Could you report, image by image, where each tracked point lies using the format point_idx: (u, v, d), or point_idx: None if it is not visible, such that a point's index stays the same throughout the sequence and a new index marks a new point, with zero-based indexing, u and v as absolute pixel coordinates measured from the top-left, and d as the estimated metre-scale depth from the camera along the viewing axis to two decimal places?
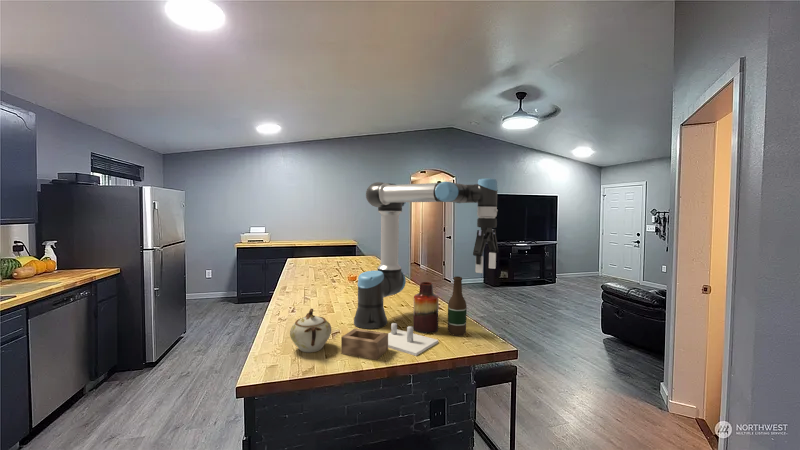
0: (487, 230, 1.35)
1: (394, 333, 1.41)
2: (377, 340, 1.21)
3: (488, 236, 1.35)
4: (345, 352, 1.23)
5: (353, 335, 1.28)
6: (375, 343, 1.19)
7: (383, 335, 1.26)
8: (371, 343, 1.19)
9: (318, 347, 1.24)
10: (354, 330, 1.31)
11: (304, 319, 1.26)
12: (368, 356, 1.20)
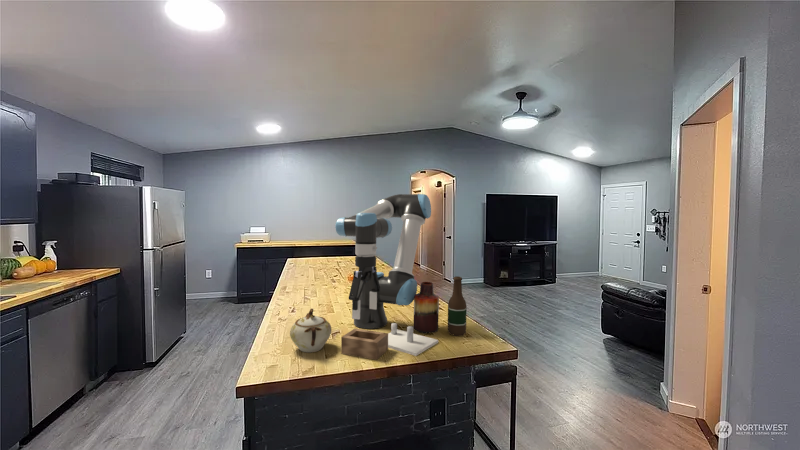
0: (365, 270, 1.23)
1: (394, 333, 1.41)
2: (377, 340, 1.21)
3: (366, 277, 1.22)
4: (345, 352, 1.23)
5: (353, 335, 1.28)
6: (375, 343, 1.19)
7: (383, 335, 1.26)
8: (371, 343, 1.19)
9: (318, 347, 1.24)
10: (354, 330, 1.31)
11: (304, 319, 1.26)
12: (368, 356, 1.20)
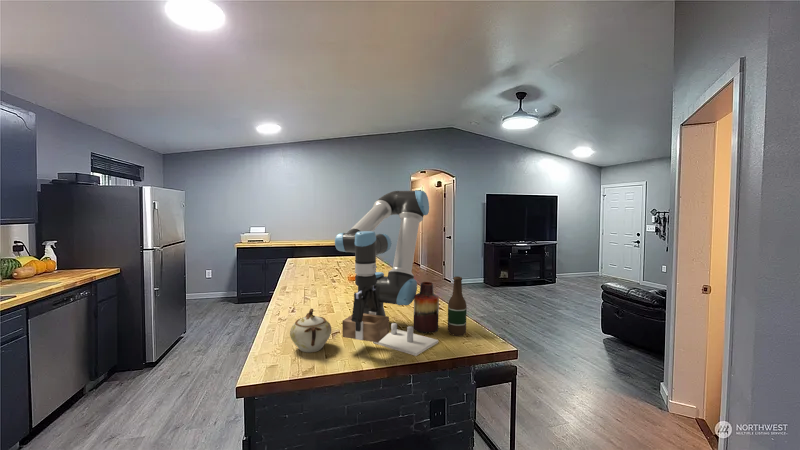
0: (365, 288, 1.23)
1: (394, 333, 1.41)
2: (378, 323, 1.21)
3: (367, 296, 1.23)
4: (346, 335, 1.24)
5: None
6: (376, 326, 1.19)
7: (384, 318, 1.26)
8: (372, 326, 1.20)
9: (318, 347, 1.24)
10: None
11: (304, 319, 1.26)
12: (370, 339, 1.20)
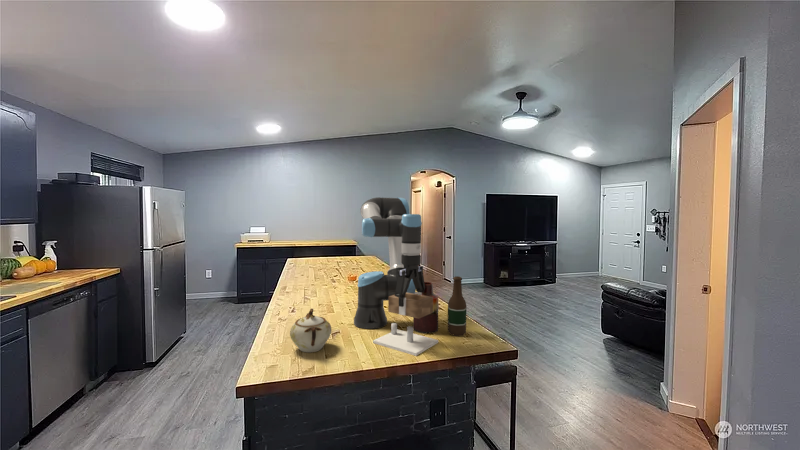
0: (410, 267, 1.30)
1: (394, 333, 1.41)
2: (420, 300, 1.27)
3: (411, 274, 1.30)
4: (391, 310, 1.32)
5: None
6: (417, 302, 1.25)
7: (427, 298, 1.31)
8: (414, 302, 1.26)
9: (318, 347, 1.24)
10: None
11: (304, 319, 1.26)
12: (411, 315, 1.27)
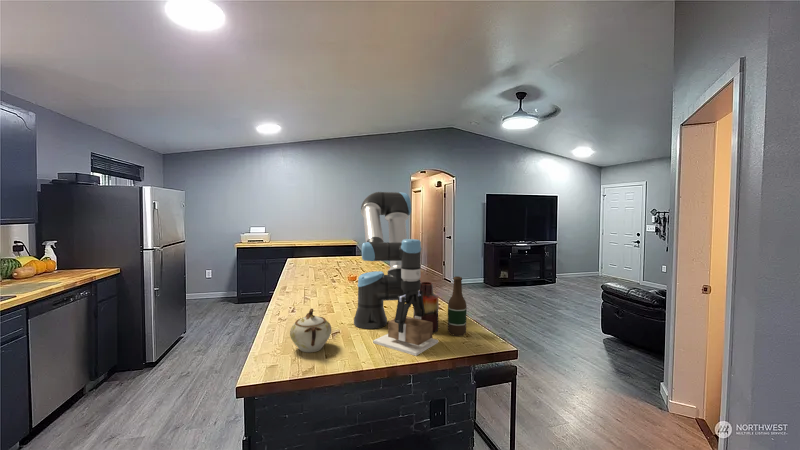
0: (409, 293, 1.30)
1: None
2: (420, 327, 1.27)
3: (411, 300, 1.30)
4: (391, 336, 1.32)
5: None
6: (417, 329, 1.25)
7: (427, 323, 1.31)
8: (413, 329, 1.26)
9: (318, 347, 1.24)
10: None
11: (304, 319, 1.26)
12: (411, 341, 1.27)
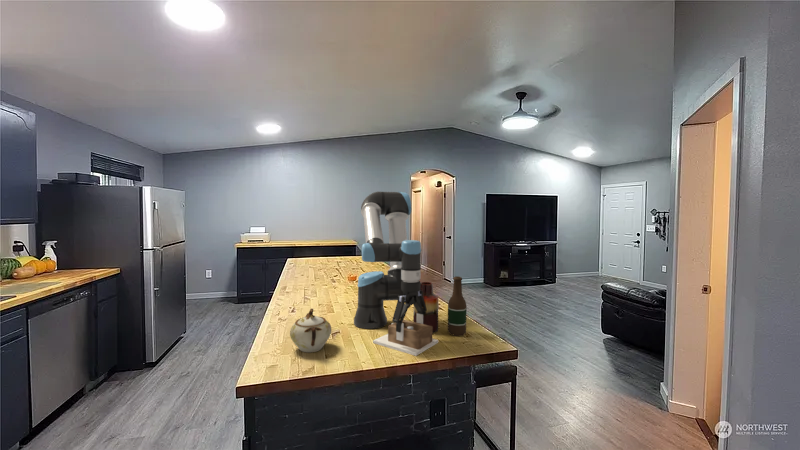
0: (410, 294, 1.31)
1: None
2: (420, 331, 1.27)
3: (410, 301, 1.30)
4: (391, 340, 1.33)
5: None
6: (417, 334, 1.26)
7: (427, 327, 1.32)
8: (413, 333, 1.26)
9: (318, 347, 1.24)
10: None
11: (304, 319, 1.26)
12: (411, 345, 1.27)
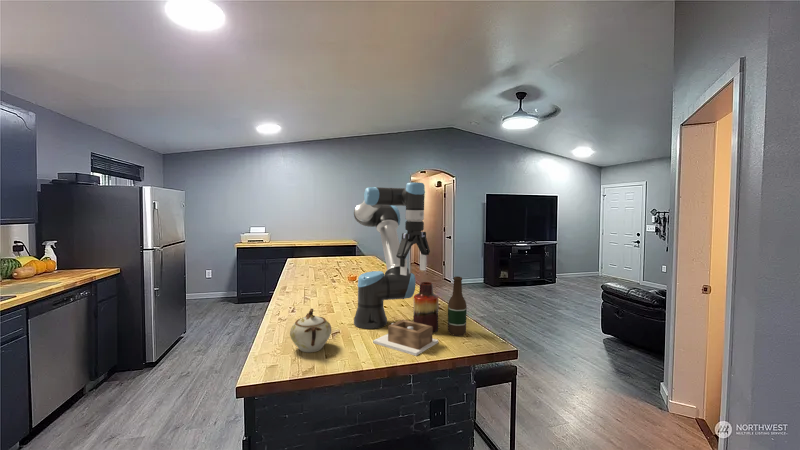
0: (413, 233, 1.38)
1: None
2: (420, 331, 1.27)
3: (414, 239, 1.38)
4: (391, 340, 1.33)
5: (400, 325, 1.37)
6: (417, 334, 1.26)
7: (427, 327, 1.32)
8: (413, 333, 1.26)
9: (318, 347, 1.24)
10: (401, 320, 1.40)
11: (304, 319, 1.26)
12: (411, 345, 1.27)
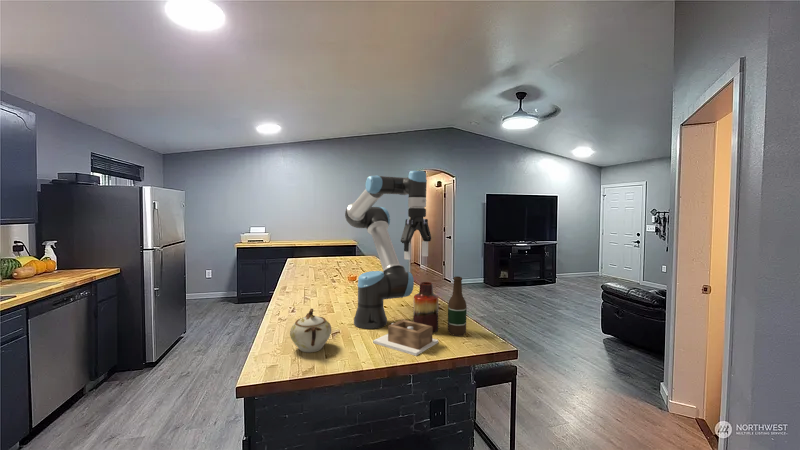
0: (416, 219, 1.44)
1: None
2: (420, 331, 1.27)
3: (417, 225, 1.43)
4: (391, 340, 1.33)
5: (400, 325, 1.37)
6: (417, 334, 1.26)
7: (427, 327, 1.32)
8: (413, 333, 1.26)
9: (318, 347, 1.24)
10: (401, 320, 1.40)
11: (304, 319, 1.26)
12: (411, 345, 1.27)
